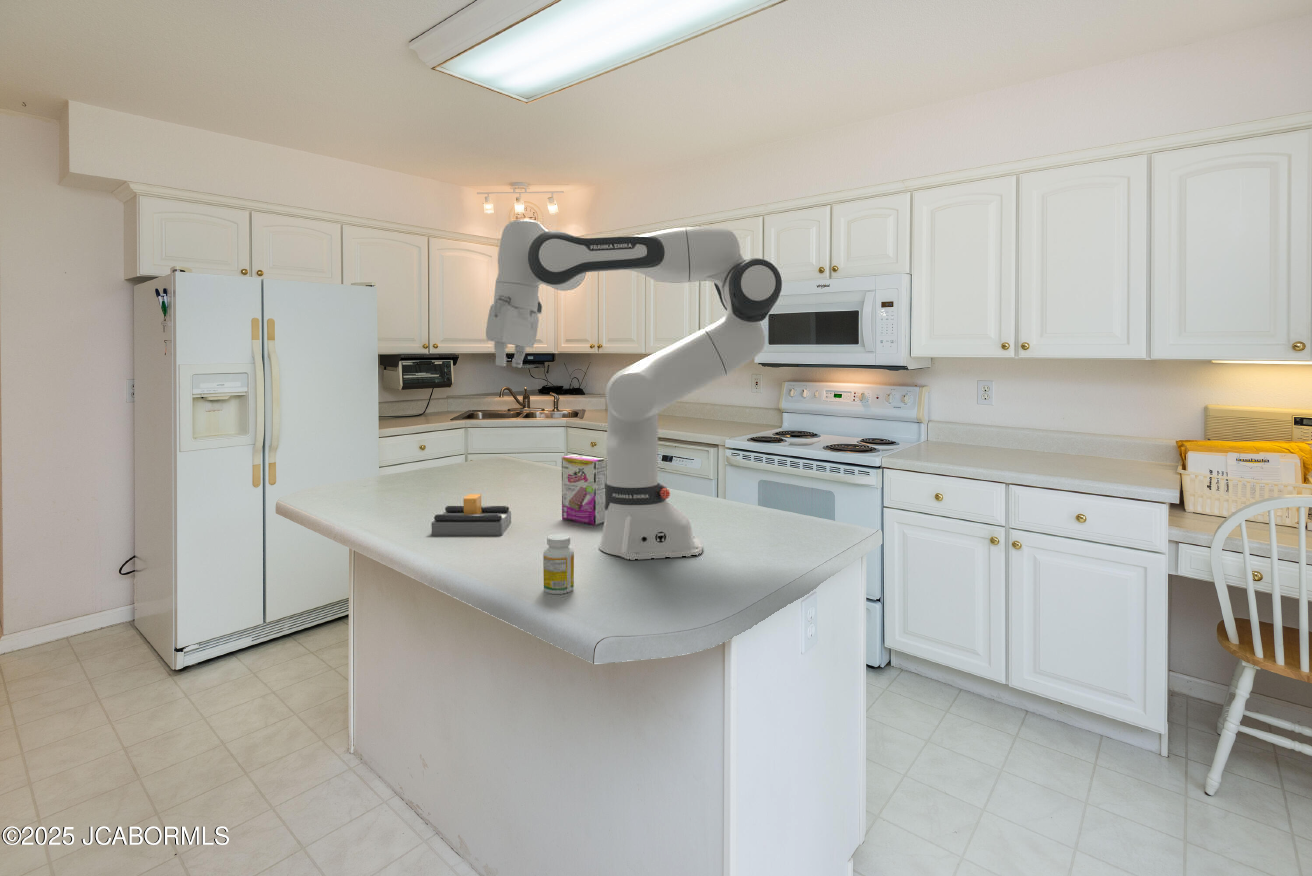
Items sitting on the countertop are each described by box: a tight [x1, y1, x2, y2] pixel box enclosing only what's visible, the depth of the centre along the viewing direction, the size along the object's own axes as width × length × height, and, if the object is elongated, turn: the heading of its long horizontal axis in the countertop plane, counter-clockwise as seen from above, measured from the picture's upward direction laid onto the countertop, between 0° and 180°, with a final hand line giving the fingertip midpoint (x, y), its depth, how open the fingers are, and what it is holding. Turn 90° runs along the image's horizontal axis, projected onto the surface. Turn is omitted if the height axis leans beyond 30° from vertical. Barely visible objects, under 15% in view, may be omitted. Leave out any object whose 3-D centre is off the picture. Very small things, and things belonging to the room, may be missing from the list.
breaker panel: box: [430, 505, 512, 537], centre depth 154 cm, size 16×12×5 cm
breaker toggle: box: [462, 493, 482, 514], centre depth 153 cm, size 3×5×4 cm, turn 2°
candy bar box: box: [561, 454, 607, 526], centre depth 162 cm, size 11×5×16 cm, turn 58°
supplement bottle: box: [542, 533, 575, 595], centre depth 113 cm, size 5×5×10 cm
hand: (509, 366), depth 135 cm, fingers open, 8 cm apart
